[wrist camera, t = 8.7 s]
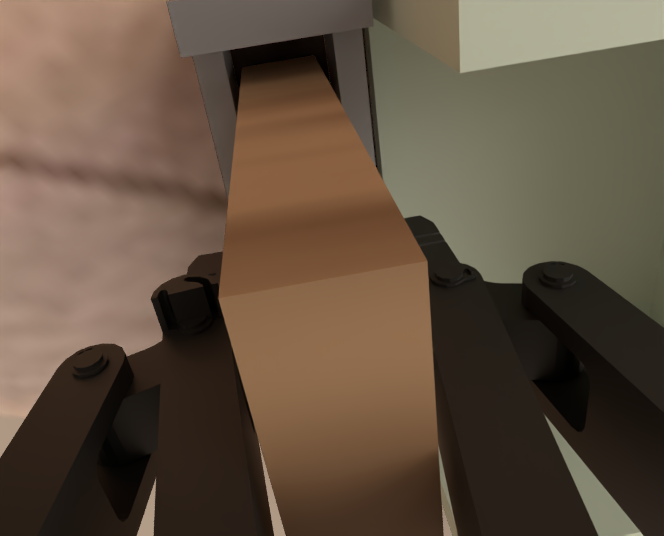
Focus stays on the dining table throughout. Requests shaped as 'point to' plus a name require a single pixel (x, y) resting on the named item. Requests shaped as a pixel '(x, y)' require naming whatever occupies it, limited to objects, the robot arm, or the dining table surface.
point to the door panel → (328, 316)
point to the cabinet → (487, 132)
